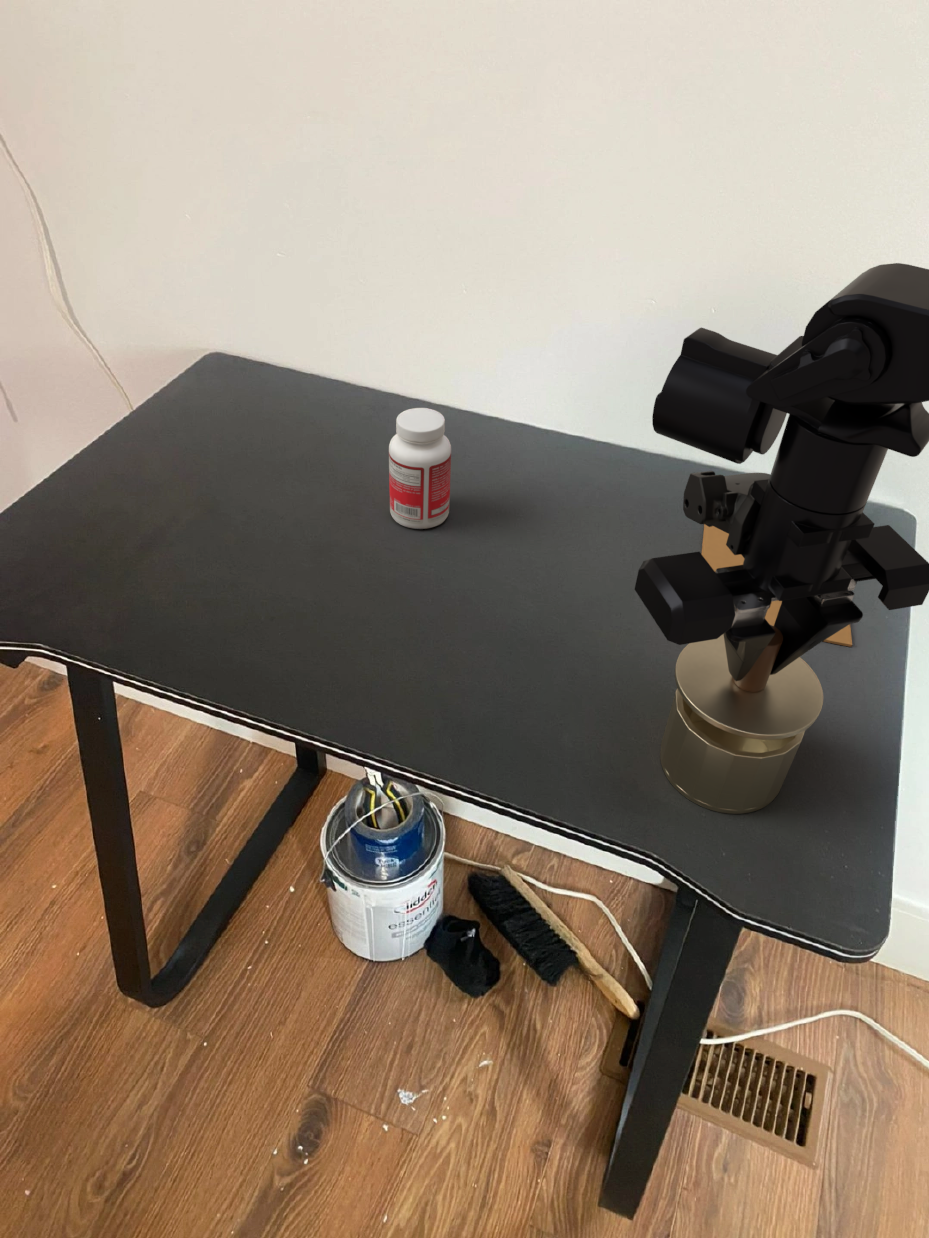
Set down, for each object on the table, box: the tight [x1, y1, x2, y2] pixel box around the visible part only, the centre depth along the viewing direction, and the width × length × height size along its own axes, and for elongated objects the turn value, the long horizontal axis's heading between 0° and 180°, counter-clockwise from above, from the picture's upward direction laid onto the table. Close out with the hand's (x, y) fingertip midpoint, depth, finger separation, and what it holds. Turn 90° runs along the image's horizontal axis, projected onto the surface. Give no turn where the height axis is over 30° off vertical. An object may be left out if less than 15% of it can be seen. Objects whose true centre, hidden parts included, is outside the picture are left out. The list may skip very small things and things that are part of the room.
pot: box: [659, 688, 806, 815], centre depth 70 cm, size 9×9×6 cm
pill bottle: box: [388, 407, 452, 530], centre depth 92 cm, size 6×6×11 cm
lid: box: [674, 625, 824, 740], centre depth 65 cm, size 10×10×6 cm
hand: (751, 673), depth 65 cm, fingers closed on lid, 2 cm apart
